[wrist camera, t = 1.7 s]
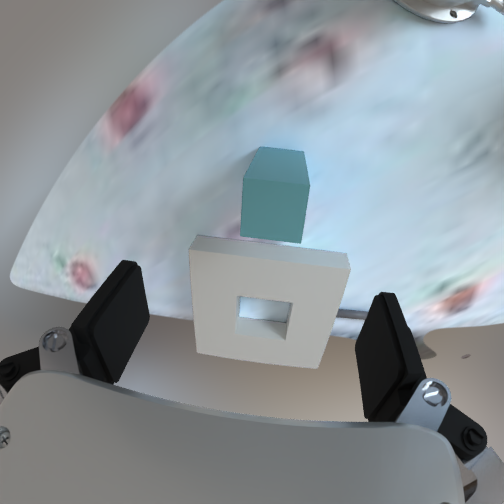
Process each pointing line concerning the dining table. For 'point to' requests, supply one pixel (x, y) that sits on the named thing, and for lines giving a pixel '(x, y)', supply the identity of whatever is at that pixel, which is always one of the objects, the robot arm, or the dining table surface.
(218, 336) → the white square-hole board
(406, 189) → the dining table surface
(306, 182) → the plug
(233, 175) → the dining table surface
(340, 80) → the dining table surface
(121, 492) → the robot arm
